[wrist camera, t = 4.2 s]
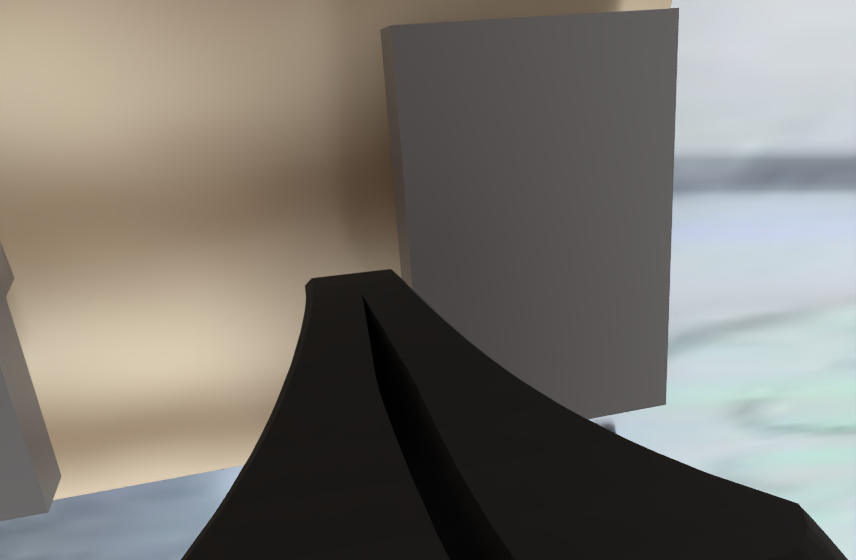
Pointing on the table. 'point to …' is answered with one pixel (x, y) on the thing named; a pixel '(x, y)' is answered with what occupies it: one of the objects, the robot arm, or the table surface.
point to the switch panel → (191, 207)
